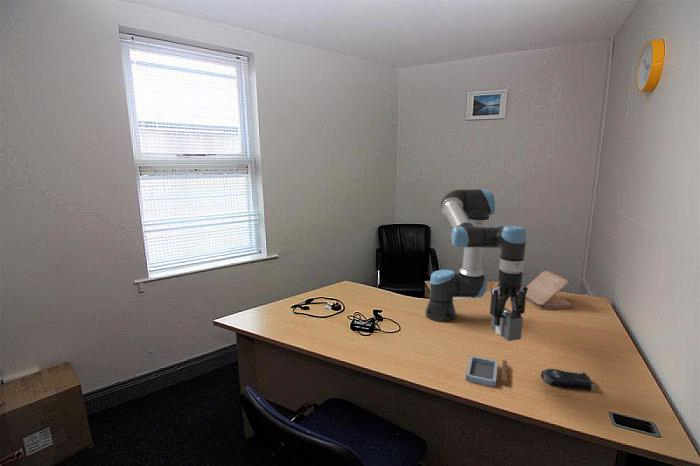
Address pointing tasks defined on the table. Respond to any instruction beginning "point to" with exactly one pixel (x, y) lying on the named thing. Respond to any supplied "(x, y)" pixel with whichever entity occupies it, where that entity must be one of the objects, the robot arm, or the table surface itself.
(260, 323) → the table surface
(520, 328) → the grey block with knob
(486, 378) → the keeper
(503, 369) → the door edge strip
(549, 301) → the case
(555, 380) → the electronic device
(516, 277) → the robot arm
